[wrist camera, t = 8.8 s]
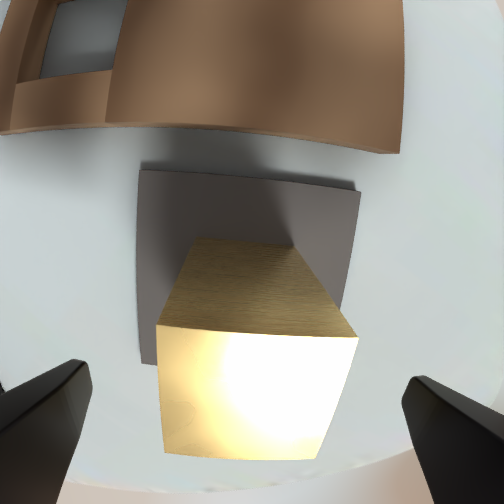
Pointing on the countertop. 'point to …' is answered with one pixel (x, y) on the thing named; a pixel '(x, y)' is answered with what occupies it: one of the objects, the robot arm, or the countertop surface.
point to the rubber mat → (234, 230)
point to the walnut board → (221, 70)
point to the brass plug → (249, 354)
